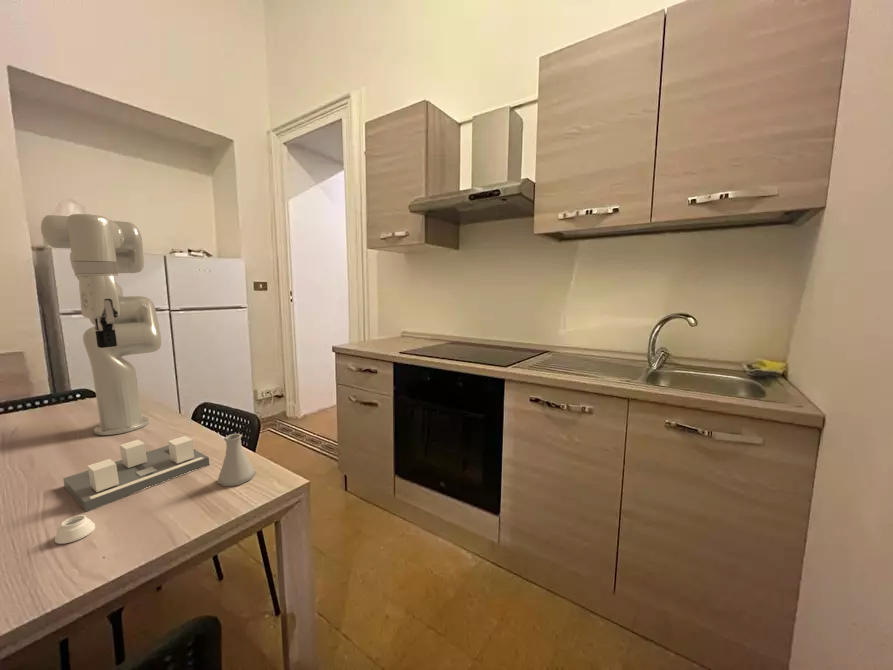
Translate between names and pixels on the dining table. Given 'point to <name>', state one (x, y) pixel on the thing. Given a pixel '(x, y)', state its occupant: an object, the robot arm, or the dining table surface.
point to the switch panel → (132, 477)
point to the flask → (235, 463)
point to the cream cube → (181, 449)
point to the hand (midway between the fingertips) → (107, 346)
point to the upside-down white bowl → (74, 529)
